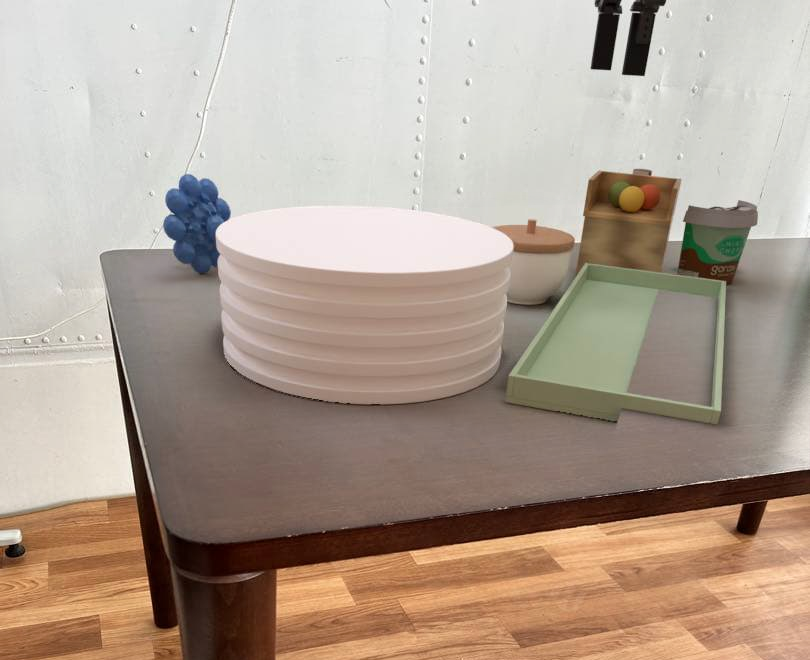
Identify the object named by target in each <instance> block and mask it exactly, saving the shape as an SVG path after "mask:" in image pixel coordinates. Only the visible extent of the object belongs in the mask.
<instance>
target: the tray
mask: <svg viewBox="0 0 810 660" xmlns="http://www.w3.org/2000/svg"><path fill="white" fill-rule="evenodd" d="M659 291H664V292H670V293H679V294H687V295H692V296H693V295H694V296H701V297H708V298H715V299H717V312H716V313H717V314H716V330H715V345H714V357H713V358H714V359H713V373H712V376H713V377H712V390H711V405H710V406H708V405H703V404H695V403H689V402H684V401H677V400H673V399H666V398H661V397H654V396H649V395H642V394H638V393H637V394H636V393H630V392H628V390H629V387H630V384H631V380H632V378H633V373H634V371H635V368H636V364H637V361H638V358H639V355H640V352H641V349H642V344H643V342H644V338H645V335H646V332H647V330H648V326H649V323H650V319H651V317H652V313H653V309H654V307H655V303H656V301H657V297H658V294H659ZM726 295H727V285H726V281H721V280H713V279H705V278H698V277H690V276H682V275H677V274H673V273H665V272H661V273H659V272H651V271H644V270H636V269H628V268H621V267H613V266H605V265H598V264H589V263H585V265H584V266H583V268H582V269H581V270H580V272H579V273H578V275H577V276H575V277H574V279H573V281H572V282H571V284H570V285H569V286H568V288H567V289H566V291H565V292H564V294H563V295H562V297H561V298H560V300H559V301H558V302H557V304H556V305H555V307H554V308H553V310H552V311H551V312H550V314H549V315H548V317H547V318H546V320H545V322H544V323H543V324H542V326H541V327H540V329H539V330H538V332H537V333H536V334H535V336H534V338H533V339H532V341H530V343H529V345H528V346H527V348H526V349H525V350H524V352H523V353H522V355H521V357H519V359H518V361H517V362H516V364H515V365H514V367H513V368H512V369H511V371H510V373H509V374H508V375H507V376H508V377H507V384H506V393H505V398H504V399H505V401H504V402H505V403H507V404H513V405H518V406H525V407H529V408H535V409H542V410H547V411H553V412H557V411H560V412H559V413H563V412H566V413H565V414H569V413H572V414H571V415H574V414H575V416H580V415H583V416H582V417H585V416H587V417H586V418H591V417H593V418H592V419H597V418H600V419H599V420H602V419H605V420H604V421H608V420H610V421H609V422H614V421H619V419H620V416H621V412H622V409H626V410H631V411H636V412H641V413H649V414H654V415H659V416H666V417H672V418H678V419H684V420H689V421H695V422H701V423H705V424H711V425H718V424H719V421H720V417H721V414H722V399H723V376H724V375H723V373H724V371H723V370H724V346H725V324H726V323H725V321H726Z"/></svg>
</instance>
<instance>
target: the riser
mask: <svg viewBox="0 0 810 660" xmlns="http://www.w3.org/2000/svg"><path fill="white" fill-rule="evenodd" d="M583 219H584V220H583V225H582V232H581V238H580V243H579V251H578V256H577V262H576V269H575V275H574V277H576V276H577V275H578V273H579V272H580V270H581V269H582V268H583V266H584V265H585V263H589V264H598V265H605V266H613V267H621V268H628V269H636V270H644V271H651V272H659V273H663V272H662V270H663V267H664V262H665V257H666V254H667V249H668V244H669V239H670V234H671V229H672V225H673V220H674V218H673V219H672V221H671V224H670V226H664V225H656V224H647V223H638V222H630V221H621V220H612V219H604V218H595V217H587V216H584V218H583Z"/></svg>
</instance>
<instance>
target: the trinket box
mask: <svg viewBox="0 0 810 660" xmlns="http://www.w3.org/2000/svg"><path fill="white" fill-rule="evenodd" d="M537 222H538V221H537V219H534V218H528V219H527V224H502V225H497V226H496V225H495V226H493V227H492V228H494V229H496V230H498V231H500V232H502V233H504V234H505V235H506V236H508V237H509V238H510V239H511V240H512V242H513V245H514V249H513V257H512V262H511V264H510V265H509V266H508V268H509V270H510V283H509V289H508V291H507V293H506V296H507V303H511V304H515V305H521V306H522V305H524V306H535V305H542V304H545V303H546V302H547V301H548V298H550V297H551V296H553V295H554V294H555V293H556V292H557V291H558V290H559V288H561V286H562V285H563V282H564V281H565V279H566V277H567V274H568V272H569V268H570V264H571V260H572V255H573V254H572V253H573V249H574V246H575V240H576V239H575V237H574V236H573V235H572V234H570V233H569V232H566V231H564V230H561V229H558V228H557V229H556V228H552V227H546V226H540V225H537Z"/></svg>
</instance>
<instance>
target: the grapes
mask: <svg viewBox="0 0 810 660" xmlns="http://www.w3.org/2000/svg"><path fill="white" fill-rule="evenodd" d="M164 198H165V200H164V202H165V206H166V207H167V208H168V211H169V212H170V214H168V215H167V216H165V218H164V220H163V221H162V222H163V223H162V228H163V231H164V233H165V235H166V236H167V237H168V238H169V239H171V240H172V241H175V242H174V243H173V247H172V252H173V255H174V257H175V258H176V260H177V261H178V262H180V263H182V264H183V265H190V267H191V268H192V269H193V271H194V272H196V273H198V274H199V273H205V274H207V273H208V272H210V271H211V269H212V267H213V268H218V258H219V256H220V253H219V252H218V250H217V247H216V230H217V228H218V227H219V226H220V225H221V224H222V223H224V222H226V221H227V220H230V219H231V216H232V215H231V214H232V210H231V208H230V205H229V204H228V203H227V201H226V200H224V199H223V198H221V197H219V190H218V186H217V185H216V183H214V181H213V180H211V179H209V178H204V177H203V178H201V179H198V178H197V177H196V176H194V175H193V174H192V173H191V174H190V173H185V174H183V175H181V177H180V178H179V181H178V188H170V189H169V190H167V192H166V194H165V197H164ZM171 213H172V214H171Z"/></svg>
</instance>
